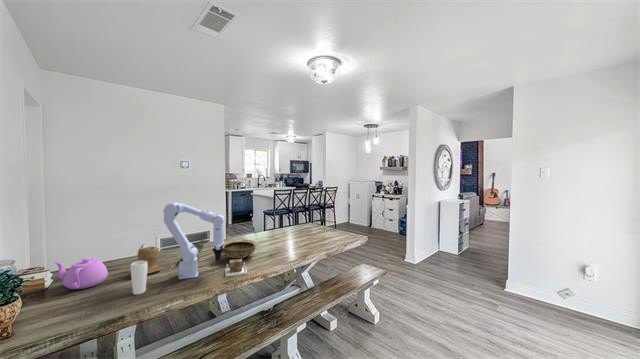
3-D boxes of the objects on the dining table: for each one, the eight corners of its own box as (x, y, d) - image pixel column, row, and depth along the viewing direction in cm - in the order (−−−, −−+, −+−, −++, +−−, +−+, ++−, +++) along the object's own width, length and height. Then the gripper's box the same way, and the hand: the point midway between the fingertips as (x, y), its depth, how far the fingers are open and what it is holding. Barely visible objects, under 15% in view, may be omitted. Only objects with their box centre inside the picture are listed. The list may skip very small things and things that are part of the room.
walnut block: (229, 272, 146) (229, 262, 146) (229, 269, 150) (229, 260, 150) (241, 271, 148) (242, 261, 148) (241, 268, 152) (241, 258, 152)
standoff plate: (225, 276, 143) (225, 269, 142) (225, 270, 152) (225, 263, 151) (246, 274, 147) (246, 267, 147) (245, 268, 156) (245, 261, 156)
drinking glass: (145, 287, 127) (145, 259, 127) (149, 292, 123) (149, 262, 123) (129, 292, 122) (128, 262, 122) (133, 297, 118) (132, 266, 117)
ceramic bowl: (225, 268, 155) (226, 252, 154) (210, 258, 171) (210, 244, 171) (266, 257, 176) (267, 243, 176) (249, 249, 193) (250, 236, 192)
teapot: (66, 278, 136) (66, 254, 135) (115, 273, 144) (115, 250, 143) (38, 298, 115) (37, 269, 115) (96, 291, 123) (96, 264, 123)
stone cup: (157, 266, 155) (157, 243, 155) (163, 271, 147) (163, 247, 147) (127, 274, 144) (127, 248, 143) (132, 280, 136) (132, 253, 135)
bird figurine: (180, 267, 153) (196, 236, 162) (172, 263, 159) (188, 234, 167) (197, 271, 163) (212, 242, 171) (189, 268, 168) (204, 240, 177)
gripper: (225, 238, 140) (225, 261, 141) (225, 232, 154) (225, 253, 154) (212, 239, 138) (212, 263, 138) (213, 232, 151) (213, 254, 152)
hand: (218, 258), depth 146 cm, fingers open, 7 cm apart
